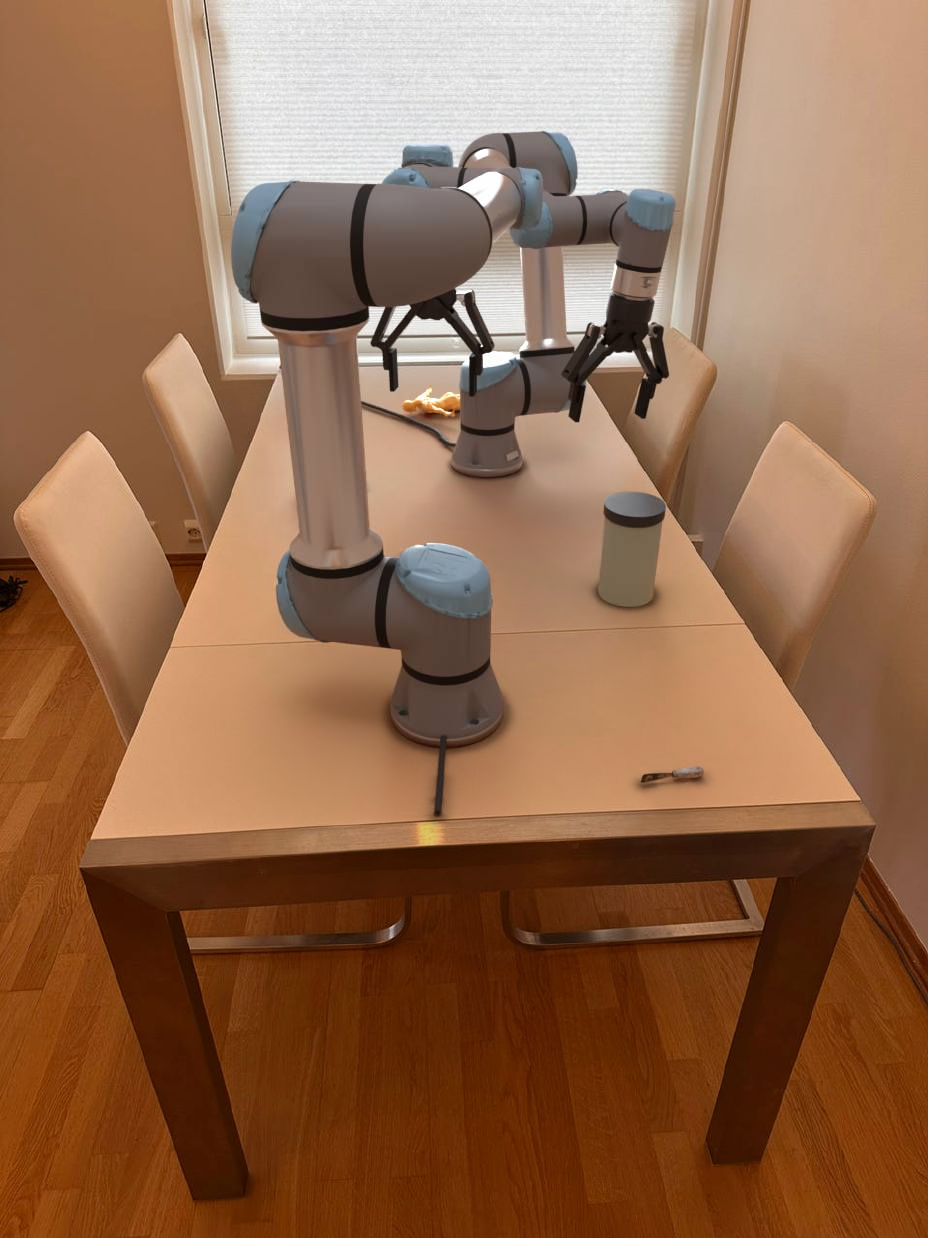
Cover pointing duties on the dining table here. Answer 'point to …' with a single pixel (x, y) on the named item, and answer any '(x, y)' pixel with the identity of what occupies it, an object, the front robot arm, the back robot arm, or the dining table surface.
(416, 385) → the dining table surface
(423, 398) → the human figure
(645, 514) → the lid
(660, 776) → the putty knife
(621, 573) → the jar
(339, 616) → the front robot arm
